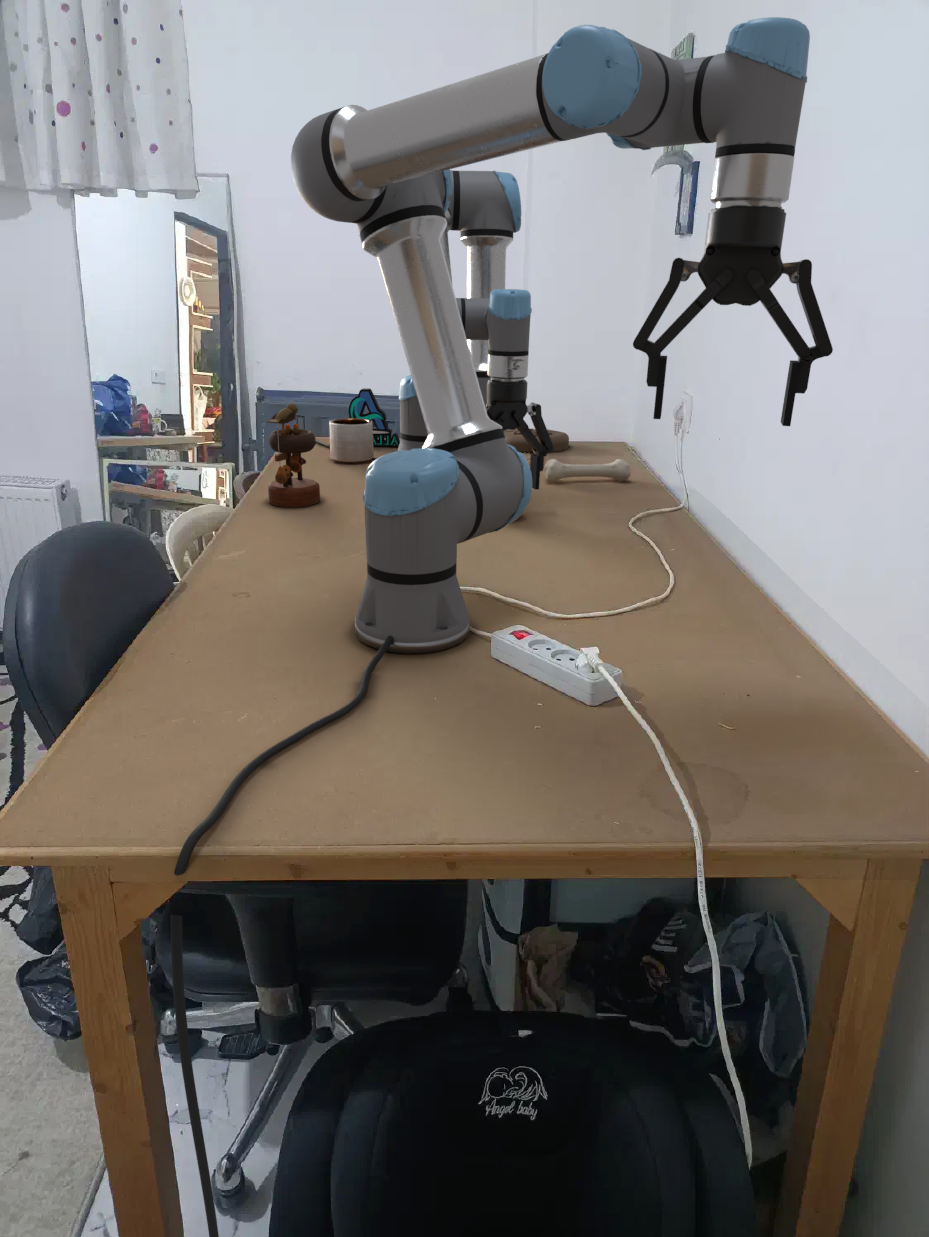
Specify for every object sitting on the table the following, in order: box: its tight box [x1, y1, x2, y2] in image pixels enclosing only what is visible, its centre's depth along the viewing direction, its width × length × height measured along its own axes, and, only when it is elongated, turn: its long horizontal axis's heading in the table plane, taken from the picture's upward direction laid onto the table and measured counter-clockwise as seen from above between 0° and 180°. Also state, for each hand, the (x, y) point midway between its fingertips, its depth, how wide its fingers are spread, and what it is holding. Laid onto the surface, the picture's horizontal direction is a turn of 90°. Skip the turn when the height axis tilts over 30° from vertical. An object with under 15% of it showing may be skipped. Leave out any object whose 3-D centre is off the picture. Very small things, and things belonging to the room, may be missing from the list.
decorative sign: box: [348, 387, 400, 448], centre depth 229 cm, size 19×2×15 cm, turn 86°
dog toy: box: [543, 458, 632, 482], centre depth 196 cm, size 20×6×5 cm, turn 99°
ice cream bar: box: [503, 427, 570, 454], centre depth 228 cm, size 21×28×4 cm
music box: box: [266, 403, 321, 508], centre depth 172 cm, size 15×11×20 cm
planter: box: [328, 417, 375, 464], centre depth 212 cm, size 11×11×10 cm
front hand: (720, 421), depth 93 cm, fingers open, 13 cm apart
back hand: (503, 491), depth 165 cm, fingers open, 13 cm apart
